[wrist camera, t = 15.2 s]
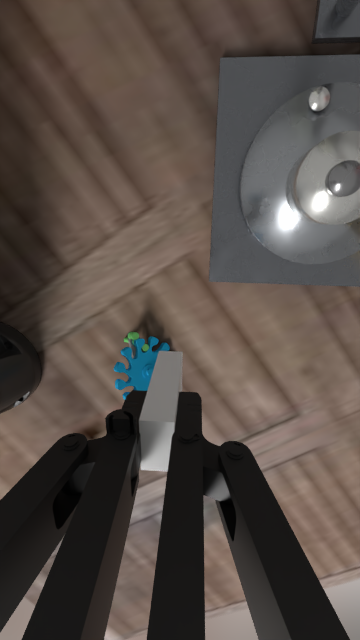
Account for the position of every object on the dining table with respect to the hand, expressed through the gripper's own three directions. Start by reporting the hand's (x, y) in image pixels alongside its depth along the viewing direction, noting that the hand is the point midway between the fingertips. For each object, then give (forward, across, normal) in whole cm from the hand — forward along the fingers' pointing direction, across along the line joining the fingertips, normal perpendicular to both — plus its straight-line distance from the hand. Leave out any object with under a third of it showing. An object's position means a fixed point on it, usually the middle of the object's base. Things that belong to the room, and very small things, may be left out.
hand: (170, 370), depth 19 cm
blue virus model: (+24, -5, -12) cm, 27 cm away
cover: (+20, +15, +12) cm, 28 cm away
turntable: (+22, +17, +11) cm, 30 cm away
